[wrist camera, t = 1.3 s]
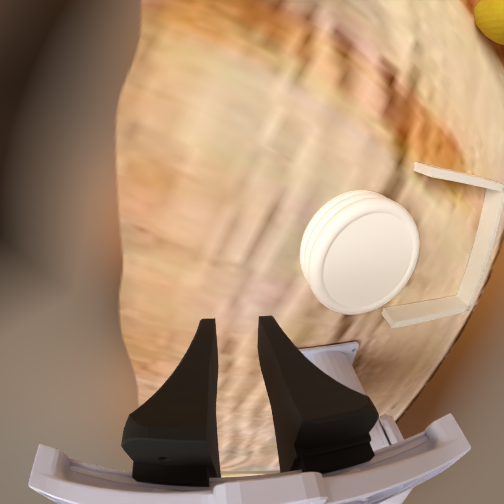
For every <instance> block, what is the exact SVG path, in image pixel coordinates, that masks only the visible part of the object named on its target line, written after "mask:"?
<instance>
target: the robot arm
mask: <svg viewBox="0 0 504 504" xmlns="http://www.w3.org/2000/svg"><path fill="white" fill-rule="evenodd" d="M358 348H359V343H358V342H357V341H355V342H349V343H342V344H336V345H329V346H321V347H313V348H305V349H298V348H297V347H296V346H295V345H294V344H293V343H292V341H291V340H290V339H289V338H288V337H287V335H286V334H285V333H284V332H283V330H282V329H281V328H280V326H279V325H278V323H277V322H276V320H275V319H274V317H273V316H259V326H258V354H259V361H260V367H261V371H262V374H263V378H264V382H265V386H266V389H267V393H268V396H269V400H270V404H271V409H272V415H273V421H274V428H275V435H276V442H277V449H278V456H279V464H280V473H275V474H267V475H257V476H245V477H226V478H221V473H220V463H219V451H218V437H217V422H216V397H217V380H218V348H217V336H216V324H215V318H214V319H202V320H200V323H199V326H198V329H197V332H196V334H195V336H194V338H193V340H192V342H191V344H190V346H189V348H188V350H187V352H186V354H185V355H184V357H183V359H182V360H181V362H180V363H179V365H178V366H177V368H176V369H175V371H174V372H173V373H172V375H171V376H170V377H169V378H168V380H167V381H166V382H165V383H164V384H163V385H162V387H161V388H160V389H159V390H158V391H157V392H156V393H155V394H154V395H153V396H152V397H151V398H149V399H148V400H147V401H146V402H145V403H144V404H143V405H141V406H140V407H139V408H138V409H136V410H135V411H134V412H133V413H131V414H130V415H129V417H128V419H127V422H126V425H125V427H124V431H123V437H122V445H121V446H122V448H123V449H124V451H125V452H126V453H127V454H128V455H129V456H130V458H131V459H132V460H133V461H134V462H133V471H132V472H128V471H122V470H116V469H110V468H106V467H101V466H97V465H92V464H88V463H84V462H80V461H77V460H73V459H70V458H69V456H67V454H65V453H64V452H62V451H60V450H57V449H55V448H52V447H49V446H46V445H43V444H39V447H38V450H37V454H36V457H35V461H34V464H33V468H32V472H31V476H30V480H29V487H30V488H32V489H34V490H35V491H37V492H38V493H40V494H42V495H44V496H45V497H47V498H49V499H50V500H52V501H54V502H56V503H58V504H402V503H403V501H404V500H405V498H406V497H407V495H408V494H409V493H410V491H411V490H412V489H413V487H415V486H417V485H419V484H421V483H423V482H424V481H426V480H428V479H430V478H432V477H434V476H435V475H437V474H439V473H441V472H442V471H444V470H445V469H447V468H448V467H449V466H451V465H452V464H453V463H454V462H456V461H457V460H458V459H459V458H461V457H462V456H463V455H464V454H465V453H467V451H469V450H470V449H471V447H470V445H469V443H468V441H467V439H466V438H465V436H464V434H463V433H462V431H461V429H460V427H459V426H458V424H457V423H456V421H455V419H454V417H453V416H452V414H448V415H446V416H444V417H442V418H440V419H438V420H436V421H434V422H433V423H431V424H430V425H429V426H428V427H427V428H426V430H425V431H424V432H422V433H419V434H417V435H415V436H412V437H410V438H407V439H405V440H404V439H403V437H402V435H401V433H400V431H399V429H398V427H397V425H396V423H395V421H394V419H393V417H392V416H387V415H386V414H384V415H382V416H380V419H381V422H382V424H383V426H382V424H381V422H380V420H379V414H378V412H377V410H376V408H375V406H374V404H373V403H372V401H371V400H370V398H369V397H368V396H367V395H366V393H365V391H364V389H363V387H362V385H361V383H360V381H359V379H358V377H357V375H356V373H355V371H354V368H353V366H352V364H353V361H354V359H355V356H356V353H357V350H358ZM383 427H384V428H383Z"/></svg>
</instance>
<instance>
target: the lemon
mask: <svg viewBox="0 0 504 504" xmlns="http://www.w3.org/2000/svg"><path fill="white" fill-rule="evenodd" d="M474 17H475V24H476V26H477V27H478V28H479V29H480V30H481V31H482V33H483V34H484V35H485V36H486V37H488V38H489V39H491V40H492V41H494V42H496V43H498V44H502V45H504V0H481V1H479V2H478V3H477V5H476V6H475V9H474Z"/></svg>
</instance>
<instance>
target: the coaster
mask: <svg viewBox="0 0 504 504" xmlns="http://www.w3.org/2000/svg"><path fill="white" fill-rule="evenodd" d="M419 248H420V239H419V233H418V229H417V226H416V223H415V221H414V219H413V218H412V217H411V215H410V214H409V212H408V211H407V210H406V209H405V208H404V207H403V206H401V205H400V204H398V203H397V202H395V201H392V200H391V199H389V198H387V197H385V196H383V195H381V194H379V193H377V192H373V191H368V190H356V191H350V192H346V193H343V194H341V195H338V196H336V197H334V198H333V199H331V200H330V201H328V202H327V203H326V204H324V205H323V206H322V207H321V208H320V209H319V210H318V211H317V212H316V214H315V215H314V216H313V218H312V219H311V220H310V222H309V224H308V226H307V227H306V230H305V232H304V235H303V238H302V241H301V247H300V263H301V268H302V271H303V274H304V276H305V278H306V280H307V281H308V283H309V286H310V287H311V289H312V291H313V293H314V295H315V296H316V298H317V299H318V300H319V301H320V302H321V303H322V304H323V305H325V306H326V307H327V308H329V309H331V310H333V311H335V312H337V313H341V314H347V315H356V314H363V313H367V312H370V311H373V310H375V309H377V308H379V307H381V306H383V305H384V304H386V303H387V302H389V301H390V300H391V299H393V298H394V297H395V296H396V295H397V294H398V293H399V292H400V291H401V290H402V289H403V287H404V286H405V285H406V283H407V282H408V280H409V279H410V277H411V275H412V273H413V271H414V269H415V266H416V263H417V260H418V255H419Z"/></svg>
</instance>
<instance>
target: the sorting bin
mask: <svg viewBox="0 0 504 504" xmlns="http://www.w3.org/2000/svg"><path fill="white" fill-rule="evenodd" d="M414 171H416V172H418V173H421V174H424V175H427V176H430V177H433V178H439V179H445V180H450V181H455V182H460V183H465V184H470V185H474V186H479V187H483V188H486V192H485V197H484V203H483V207H482V212H481V217H480V221H479V225H478V229H477V233H476V237H475V241H474V244H473V248H472V251H471V254H470V258H469V261H468V264H467V267H466V270H465V273H464V276H463V279H462V281H461V284H460V287H459V290H458V292H457V295H455V296H450V297H445V298H439V299H434V300H429V301H423V302H417V303H411V304H405V305H399V306H392V307H386V308H383V311H382V315H383V317H384V318H385V319H386V321H387V322H388V323H389V325H390V326H391V327H392V329H393V328H398V327H403V326H408V325H413V324H417V323H422V322H426V321H430V320H435V319H439V318H443V317H447V316H450V315H454V314H458V313H462V312H465V311H469V309H470V307H471V305H472V303H473V300H474V298H475V295H476V293H477V290H478V288H479V285H480V283H481V280H482V277H483V274H484V272H485V269H486V266H487V263H488V260H489V257H490V254H491V250H492V247H493V244H494V240H495V236H496V233H497V229H498V225H499V221H500V217H501V212H502V207H503V203H504V185H503V184H501V183H498V182H496V181H493V180H491V179H487V178H484V177H480V176H476V175H472V174H468V173H464V172H460V171H456V170H452V169H447V168H443V167H438V166H433V165H428V164H423V163H418V162H415V164H414Z"/></svg>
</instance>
